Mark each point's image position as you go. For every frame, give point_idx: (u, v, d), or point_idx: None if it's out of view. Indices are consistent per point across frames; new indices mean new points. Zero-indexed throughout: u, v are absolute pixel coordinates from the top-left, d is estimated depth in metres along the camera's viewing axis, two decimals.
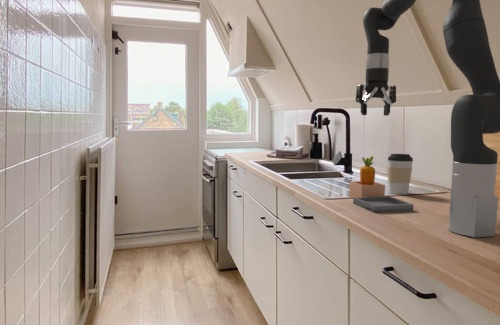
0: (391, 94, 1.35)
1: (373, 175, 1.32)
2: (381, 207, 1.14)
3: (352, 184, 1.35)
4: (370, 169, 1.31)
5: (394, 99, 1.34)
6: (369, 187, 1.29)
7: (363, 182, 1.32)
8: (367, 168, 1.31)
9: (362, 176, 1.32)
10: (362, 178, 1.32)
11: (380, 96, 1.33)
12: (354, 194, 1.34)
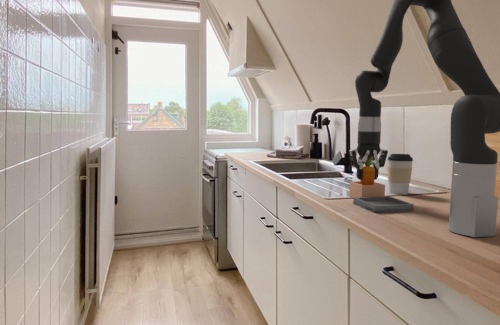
0: (381, 158, 1.33)
1: (373, 175, 1.32)
2: (381, 207, 1.14)
3: (352, 184, 1.35)
4: (370, 169, 1.31)
5: (383, 163, 1.33)
6: (369, 187, 1.29)
7: (363, 182, 1.32)
8: (367, 168, 1.31)
9: None
10: None
11: None
12: (354, 194, 1.34)
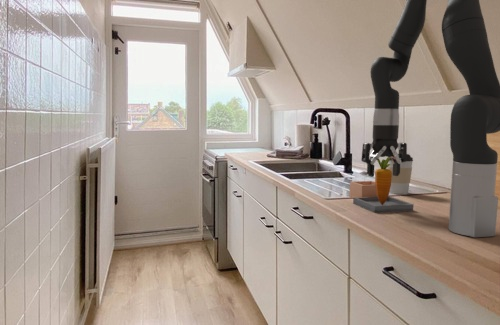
0: (401, 152, 1.20)
1: (390, 178, 1.18)
2: (381, 207, 1.14)
3: (352, 184, 1.35)
4: (387, 172, 1.18)
5: (404, 158, 1.20)
6: (369, 187, 1.29)
7: (379, 186, 1.19)
8: (383, 171, 1.18)
9: (377, 180, 1.19)
10: (377, 182, 1.19)
11: (389, 155, 1.19)
12: (354, 194, 1.34)
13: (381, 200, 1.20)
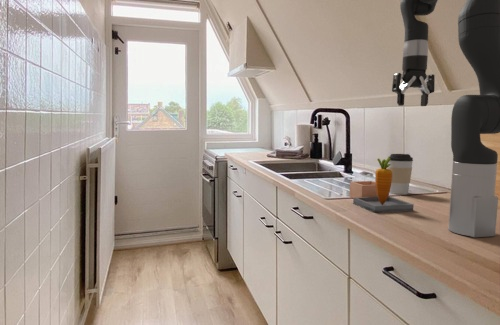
0: (429, 83, 1.28)
1: (390, 178, 1.18)
2: (381, 207, 1.14)
3: (352, 184, 1.35)
4: (387, 172, 1.18)
5: (432, 89, 1.27)
6: (369, 187, 1.29)
7: (379, 186, 1.19)
8: (384, 171, 1.18)
9: (378, 179, 1.19)
10: (378, 182, 1.19)
11: (418, 85, 1.26)
12: (354, 194, 1.34)
13: (381, 200, 1.20)
